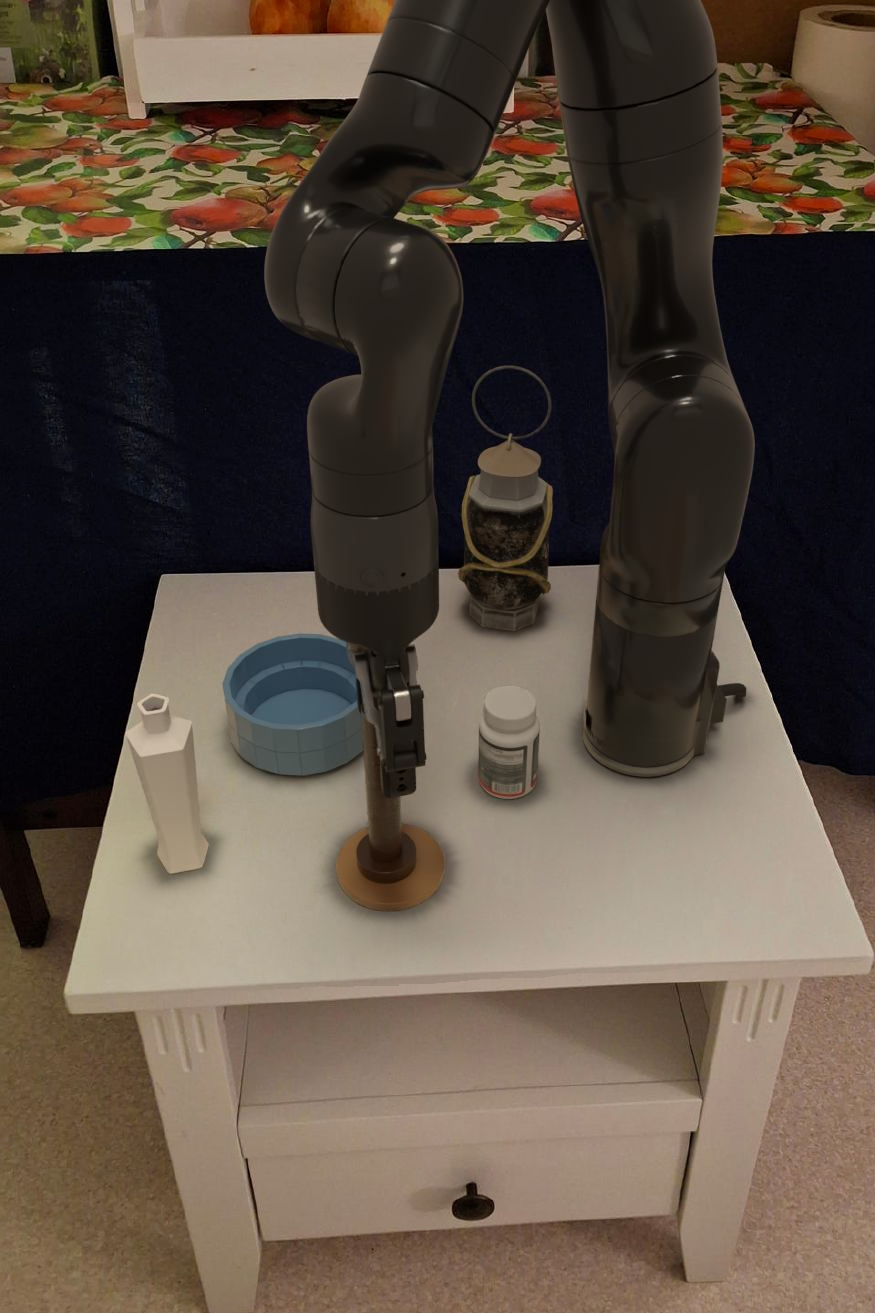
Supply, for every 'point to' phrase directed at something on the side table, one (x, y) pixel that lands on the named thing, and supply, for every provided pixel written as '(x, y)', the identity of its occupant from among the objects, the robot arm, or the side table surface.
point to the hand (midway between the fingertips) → (385, 749)
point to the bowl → (294, 705)
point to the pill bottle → (508, 743)
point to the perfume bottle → (169, 783)
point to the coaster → (398, 893)
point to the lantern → (506, 531)
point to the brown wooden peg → (382, 822)
